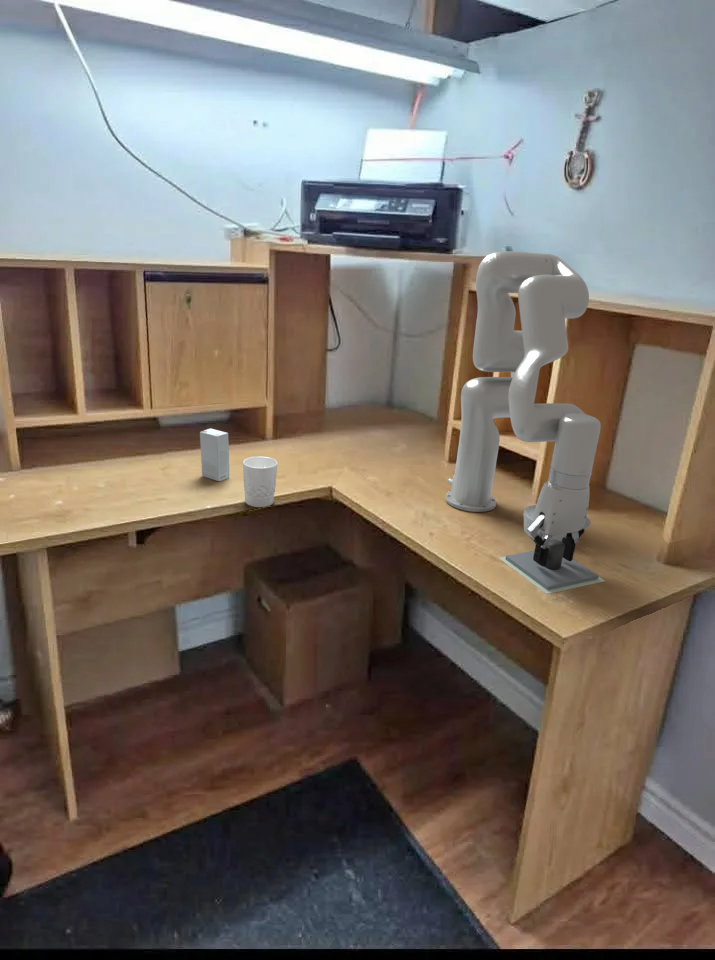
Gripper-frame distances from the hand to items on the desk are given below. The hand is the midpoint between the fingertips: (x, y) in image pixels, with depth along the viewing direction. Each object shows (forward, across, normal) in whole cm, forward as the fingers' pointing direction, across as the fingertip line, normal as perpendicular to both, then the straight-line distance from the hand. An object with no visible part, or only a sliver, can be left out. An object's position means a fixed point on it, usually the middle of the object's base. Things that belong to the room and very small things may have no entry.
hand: (552, 559), depth 134 cm
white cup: (+3, +46, -50) cm, 68 cm away
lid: (+2, 0, 0) cm, 2 cm away
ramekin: (+3, -10, -14) cm, 18 cm away
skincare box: (+3, +52, -68) cm, 85 cm away
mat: (+3, 0, 0) cm, 3 cm away
